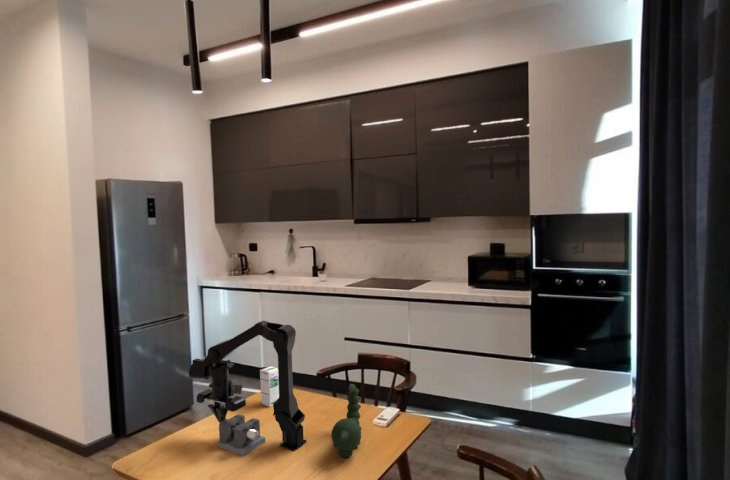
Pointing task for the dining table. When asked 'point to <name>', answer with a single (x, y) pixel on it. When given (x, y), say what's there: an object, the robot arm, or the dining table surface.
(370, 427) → the dining table surface
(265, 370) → the syrup box
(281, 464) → the dining table surface
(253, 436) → the shaft
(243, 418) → the bearing bracket
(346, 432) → the toy figurine
